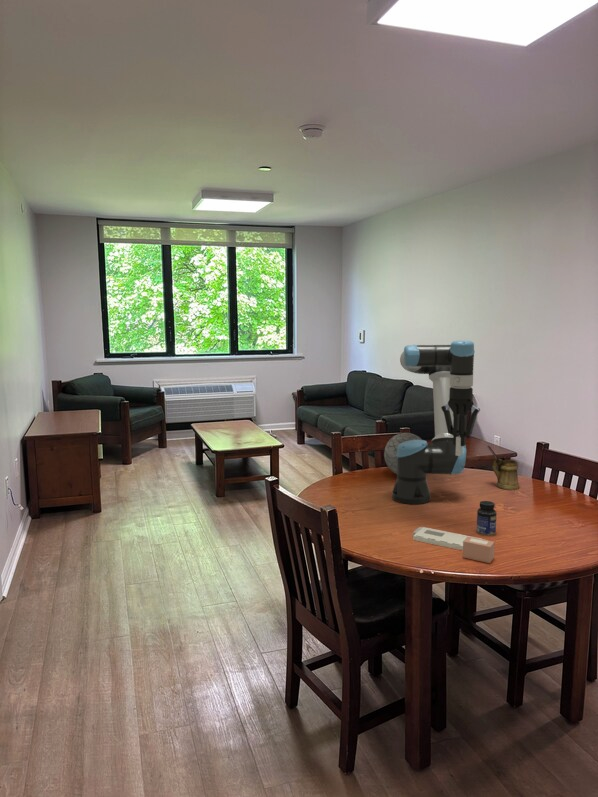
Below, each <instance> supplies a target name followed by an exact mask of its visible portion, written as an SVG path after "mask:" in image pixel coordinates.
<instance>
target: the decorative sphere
mask: <svg viewBox="0 0 598 797" xmlns="http://www.w3.org/2000/svg"><path fill="white" fill-rule="evenodd" d="M410 440H423V439H422V438H421V437H420V436H418V435H416V434H414V433H411V432H401V433H398V434H396V435H393V436H392V437H391V438H390V439H389V440H388V441H387V443H386V445H385V448H384V453H383V456H384V461H385V464H386V466H387V468H388V469H389V470H390V471H391V472H392V473H394V474H396V475H397V448H398V445H399V444H400V443H402V442H405V441H410Z"/></svg>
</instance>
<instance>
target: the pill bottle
mask: <svg viewBox="0 0 598 797" xmlns="http://www.w3.org/2000/svg"><path fill="white" fill-rule="evenodd" d="M479 507H480V508H478V509H477V512H476V513H477V514H476V533H477V534H479V535H481V536H488V537H489V536H490V537H493V536H496V534H497V511H496V510H495V502H493V501H489V500H480V501H479Z"/></svg>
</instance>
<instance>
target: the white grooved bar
mask: <svg viewBox="0 0 598 797" xmlns="http://www.w3.org/2000/svg"><path fill="white" fill-rule="evenodd" d="M422 527H423V528H422V529H421V530H420V531H418V532H417V533H416V534H415V535H414V536H413V535H412V537H413V538H412V539H413V541H417V542H421V543H426V544H431V545H435V546H440V547H443V548H449V549H454V550H458V551H462V552H463V541H464V540H465V539H466V538H467V537H473V538H478V539H483V540H485V539H484V538H480V537H475V536H471V535H470V536H469V535H466V534H465V535H464V534H459V533H456V532H450V531H445V530H440V529H435V528H430V527H424V526H422Z"/></svg>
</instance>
